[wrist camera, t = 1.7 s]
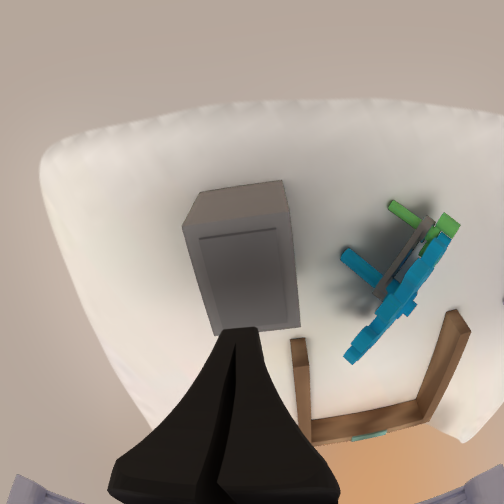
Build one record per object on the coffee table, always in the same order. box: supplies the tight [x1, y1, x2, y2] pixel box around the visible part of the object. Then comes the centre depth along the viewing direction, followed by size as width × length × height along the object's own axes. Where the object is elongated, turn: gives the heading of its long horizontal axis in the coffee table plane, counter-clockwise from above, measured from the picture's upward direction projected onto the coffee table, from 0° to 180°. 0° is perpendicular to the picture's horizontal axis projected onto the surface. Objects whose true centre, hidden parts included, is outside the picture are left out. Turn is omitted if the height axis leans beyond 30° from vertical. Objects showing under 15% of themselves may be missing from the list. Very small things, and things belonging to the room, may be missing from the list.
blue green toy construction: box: [340, 200, 460, 365], centre depth 19 cm, size 11×6×10 cm
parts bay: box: [290, 309, 471, 447], centre depth 26 cm, size 15×15×3 cm
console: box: [182, 180, 301, 336], centre depth 18 cm, size 5×7×5 cm
